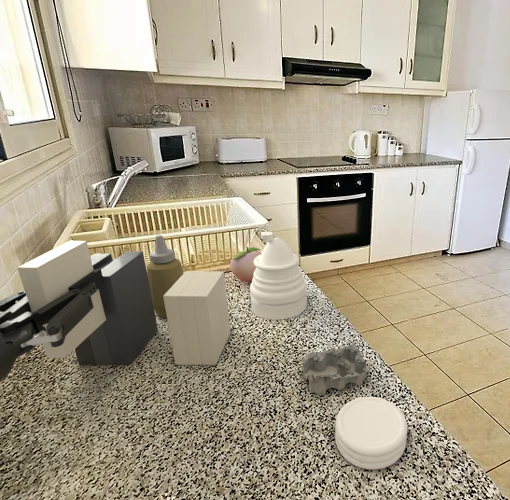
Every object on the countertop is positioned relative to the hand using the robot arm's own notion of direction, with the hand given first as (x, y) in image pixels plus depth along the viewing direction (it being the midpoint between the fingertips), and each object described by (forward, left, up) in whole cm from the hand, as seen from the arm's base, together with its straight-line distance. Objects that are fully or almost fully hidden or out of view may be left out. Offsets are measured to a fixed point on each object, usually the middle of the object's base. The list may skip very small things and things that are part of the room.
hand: (89, 276), depth 59 cm
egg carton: (+22, +33, -18) cm, 43 cm away
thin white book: (+5, -3, -8) cm, 9 cm away
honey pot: (-6, +34, -18) cm, 39 cm away
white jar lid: (+36, +31, -18) cm, 50 cm away
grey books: (-6, +2, -18) cm, 19 cm away
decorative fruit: (-21, +32, -18) cm, 42 cm away
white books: (+2, +15, -18) cm, 23 cm away
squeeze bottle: (-15, +12, -18) cm, 26 cm away
